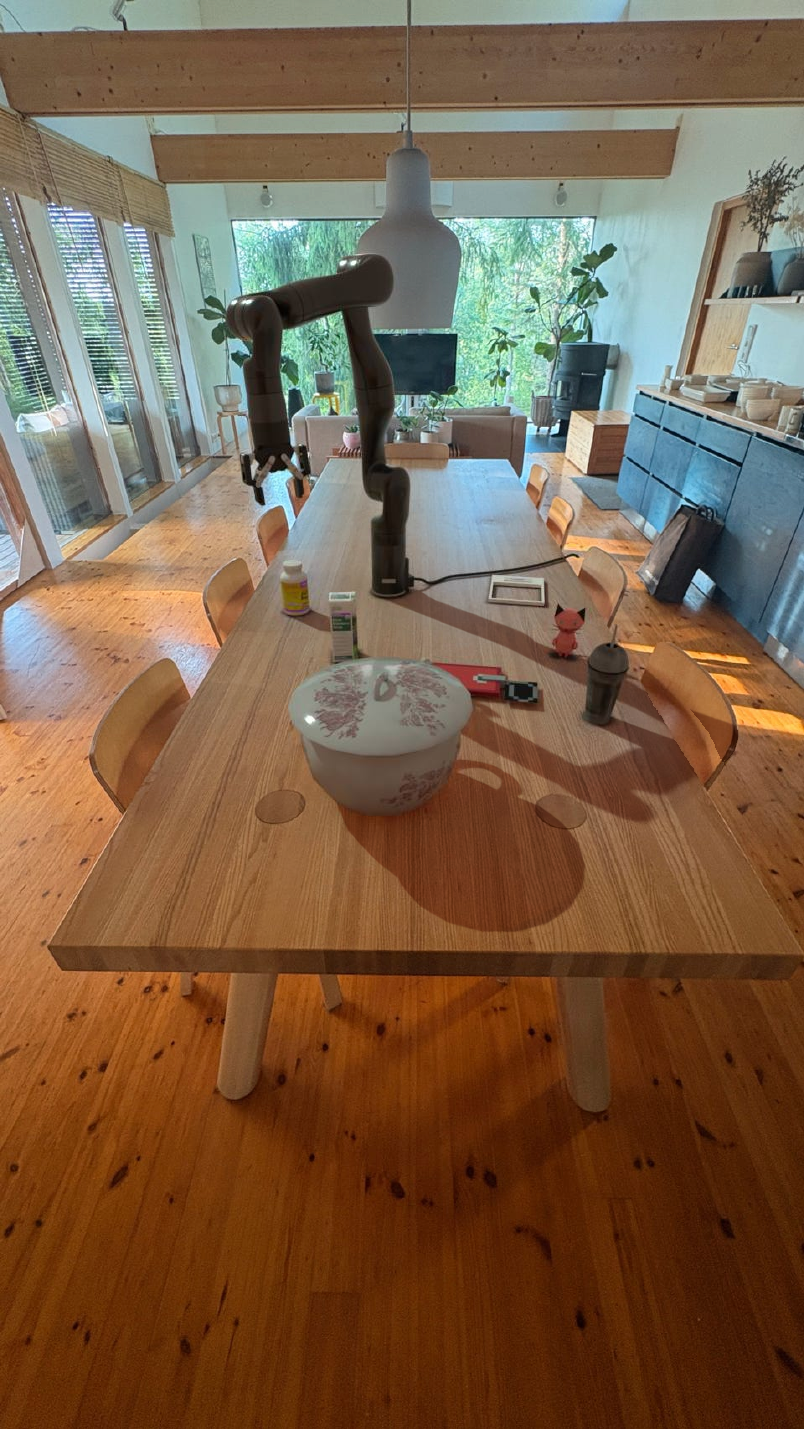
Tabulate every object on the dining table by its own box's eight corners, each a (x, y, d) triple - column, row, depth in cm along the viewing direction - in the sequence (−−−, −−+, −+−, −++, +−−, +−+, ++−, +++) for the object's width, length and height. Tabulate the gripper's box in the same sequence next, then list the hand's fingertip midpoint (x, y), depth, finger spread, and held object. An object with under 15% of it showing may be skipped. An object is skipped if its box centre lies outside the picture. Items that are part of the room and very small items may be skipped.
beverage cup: (617, 711, 121) (639, 616, 110) (615, 731, 115) (638, 633, 104) (579, 705, 123) (596, 611, 112) (575, 724, 117) (593, 627, 106)
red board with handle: (537, 712, 120) (536, 675, 132) (538, 699, 118) (538, 663, 131) (384, 699, 124) (398, 665, 137) (384, 687, 123) (398, 654, 135)
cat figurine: (545, 658, 139) (552, 608, 132) (550, 645, 144) (557, 597, 138) (577, 664, 137) (586, 613, 130) (581, 650, 142) (590, 601, 136)
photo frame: (543, 577, 178) (544, 602, 163) (543, 581, 178) (544, 606, 163) (492, 574, 180) (488, 598, 165) (492, 577, 180) (488, 602, 165)
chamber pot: (328, 868, 87) (317, 749, 75) (279, 759, 108) (265, 653, 96) (501, 814, 96) (514, 700, 85) (425, 723, 117) (428, 622, 106)
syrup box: (332, 663, 137) (328, 601, 129) (332, 650, 142) (328, 590, 134) (358, 662, 138) (355, 600, 130) (357, 649, 142) (355, 590, 134)
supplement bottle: (304, 617, 157) (300, 568, 150) (280, 615, 158) (274, 566, 151) (313, 607, 163) (309, 559, 156) (289, 605, 164) (284, 557, 157)
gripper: (241, 425, 117) (256, 511, 126) (309, 415, 123) (318, 498, 132) (227, 420, 122) (242, 503, 131) (293, 410, 128) (303, 491, 138)
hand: (280, 501), depth 132 cm, fingers open, 8 cm apart
